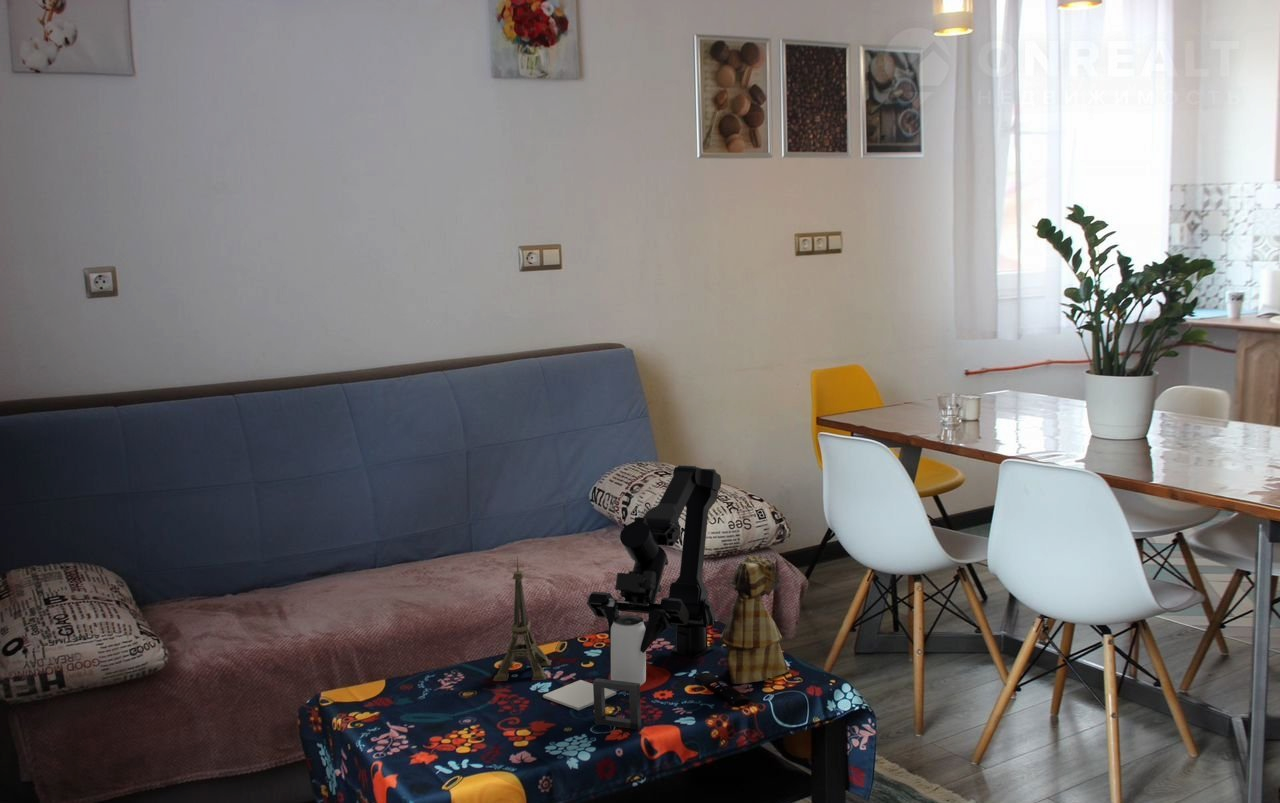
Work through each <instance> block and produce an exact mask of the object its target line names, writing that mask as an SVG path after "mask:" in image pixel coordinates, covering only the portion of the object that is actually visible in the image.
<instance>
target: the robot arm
mask: <svg viewBox="0 0 1280 803" xmlns="http://www.w3.org/2000/svg"><path fill="white" fill-rule="evenodd" d="M672 472H673V474H672V478H671V480H670V481H669V483H668V485H667V486H666V489H665V491H664V493H663V495H662V496H661V499H660V500H659V502H658V504H657V505H655V506H654V507H652V508H651V509H648V510H647V511H646V512H645V513H644V515H643V517H641V516H639V517H637V516H635V518H634V521H633V522H630V523H628V524H627V525H626V526H624V527H623V529H622V530H621V531H620V534H619V540H620V543H621V544H622V546H623V548H624V549H625V550H626V552H627V554H628V556H629V557H630V559H631V560H633V561H634V564H633V568H632V570H629V571H628V573H627V572H617V573H616V580H615V589H614V590H615V591H620V592H619V595H620V597H621V598H624V600H617V599H616V598H614V597H613V595H612V594H611V592H604V591H603V592H602V591H592V592H591V593H590V594H589V595H588V598H587V601H586V604H587V606H588V608H589V609H590V610H591V611H592V613H593V615H594V616H596V617H598V618H603V619H604V618H605V619H606V621H607V624H608V632H609V633H608V636H609V637H608V639H609V647H610V648H611V626H612V624H613V619H614V618H615V617H618V616H621V612H624V613H625V612H626V613H638V614H646V615H647V614H648V620H647V624H646V626H645V628H646V631H645V634H644V637H643V641H642V644H641V652H642V653H644V652H645V651H646V652H647V650H648V649H649V647H650V646H652V644H653V642H655V640H656V639H657V638H658V637H659V636H660V635H661V634H663V632H664V631H665V630H666V629H671V628H672V626H673V625H675V626H676V633H675V642H676V644H675V645H676V646H675V647H673V648H672V649H671V652H672V653H675V654H680V655H682V656H686V657H690V658H697V657H700V656H702V655H705V654H707V653H709V652H711V651H714V646H713V647H712V646H709V644H708V627H712V626H714V625H715V622H714V621H715V609H714V608H713V606H712V604H711V602H710V601H709V592H708V589H707V587H706V585H705V583H704V581H703V568H704V560H705V550H706V540H707V539H706V538H707V527H708V517H709V512H710V510H711V509H712V507H713V506H714V504H715V502H716V501H717V500H718V495H719V491H720V490H721V486H722V477H721V475H720V474H719V473H718V472H717V471H716V469H715V468H701V467H698V466H696V465H682V464H681V465H678V466H675V467H674V469H673V471H672ZM685 507H686V510H685V509H684V508H685ZM684 510H685V519H684V529H683V541H682V548H681V560H680V569H679V576H678V578H677V579H676V580H675V581H674V582H673V581H672V582H671V584H670V586H669V595H668V597H663V598H662V599H661V600H660V603H656V601H657V597H658V594H659V593H661V592H662V585H661V581H662V577H663V575H664V574H663V573H664V572H665V571H664V570H665V567H666V566H668V565H669V559H668V555H667V553H666V551H665V549H664V548H662V547H661V546H663V547H674V546H675V545H676V543H677V541H678V540H679V539H680V535H681V533H682V530H681V525H680V523H679V521H680V517H681V515H682V514H683V511H684Z"/></svg>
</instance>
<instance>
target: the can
mask: <svg viewBox="0 0 1280 803" xmlns="http://www.w3.org/2000/svg"><path fill="white" fill-rule="evenodd" d="M645 631H646V626H645V623H644V619H643V617H642V616H639V615H635V614H634V615H633V614H624V615H620V616H618V617H615V618H614V619H613V624H612V626H611V647H610V680H616V681H624V682H632V683H640V687H641V686H643V685H644V684H645V683H646V680H647V678H646V677H647V672H646V671H647V666H646V665H647V650H646V651H645V652H644V653H642V652H641V644H642V641H643V637H644V634H645Z"/></svg>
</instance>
